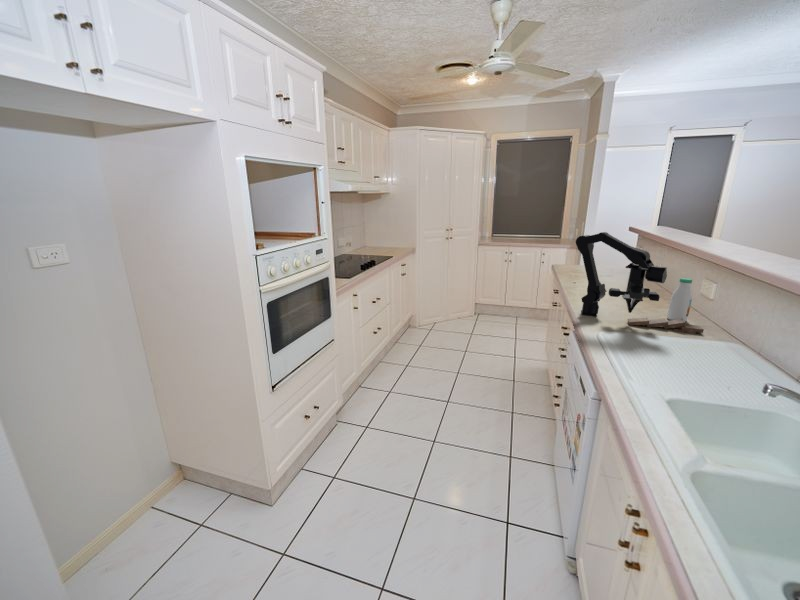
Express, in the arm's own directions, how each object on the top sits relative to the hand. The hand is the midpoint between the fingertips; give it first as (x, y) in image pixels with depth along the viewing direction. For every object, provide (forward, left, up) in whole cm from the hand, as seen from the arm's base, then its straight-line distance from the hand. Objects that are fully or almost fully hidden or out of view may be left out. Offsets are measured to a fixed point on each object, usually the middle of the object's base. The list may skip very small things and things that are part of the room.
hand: (629, 312), depth 161 cm
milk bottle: (+23, +16, -5) cm, 28 cm away
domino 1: (0, -1, -4) cm, 4 cm away
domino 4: (+17, 0, -5) cm, 18 cm away
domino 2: (+7, 0, -4) cm, 8 cm away
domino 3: (+14, 0, -4) cm, 14 cm away
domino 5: (+19, -1, -4) cm, 20 cm away
